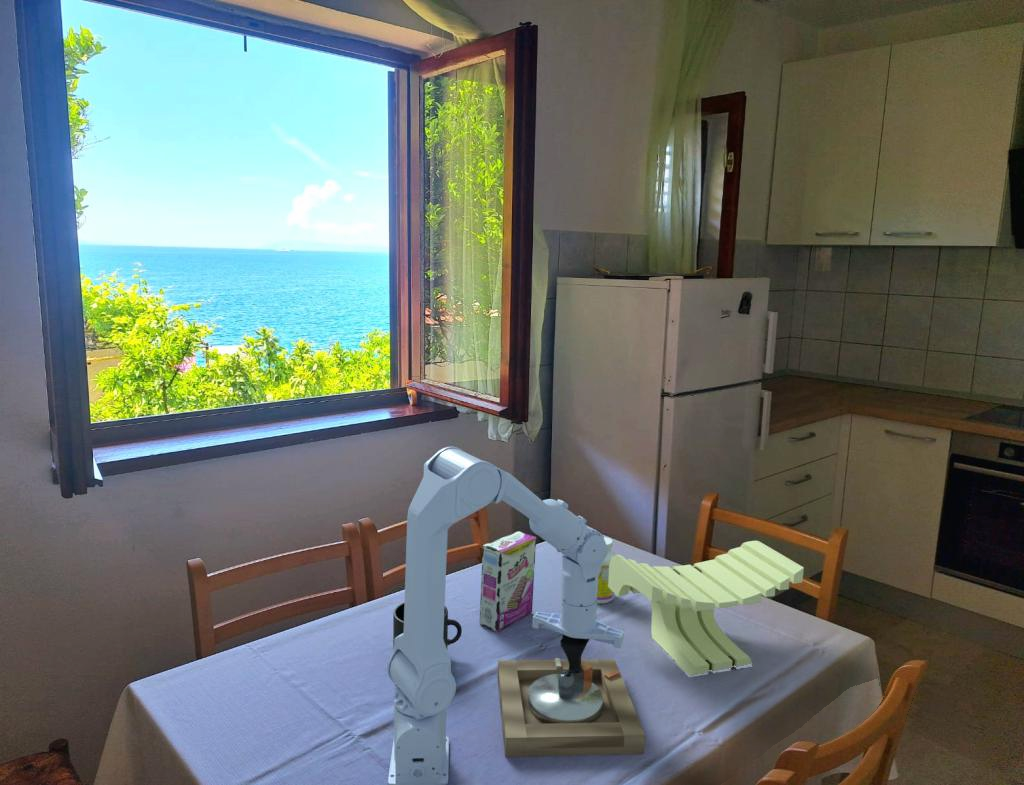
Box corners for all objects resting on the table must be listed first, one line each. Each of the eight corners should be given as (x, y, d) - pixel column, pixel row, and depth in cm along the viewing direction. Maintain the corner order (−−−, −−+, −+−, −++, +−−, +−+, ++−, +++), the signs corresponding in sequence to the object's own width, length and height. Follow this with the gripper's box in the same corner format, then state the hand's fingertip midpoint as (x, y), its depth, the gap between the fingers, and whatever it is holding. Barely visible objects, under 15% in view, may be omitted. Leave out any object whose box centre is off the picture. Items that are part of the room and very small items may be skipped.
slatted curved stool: (740, 618, 143) (748, 534, 140) (793, 660, 128) (803, 567, 125) (605, 637, 134) (610, 548, 131) (645, 685, 119) (652, 585, 116)
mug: (465, 670, 122) (466, 621, 120) (395, 676, 119) (395, 627, 118) (457, 641, 131) (458, 596, 129) (391, 647, 128) (391, 601, 127)
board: (643, 753, 102) (645, 731, 102) (505, 757, 101) (505, 734, 100) (613, 675, 122) (614, 656, 121) (497, 676, 120) (498, 657, 120)
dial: (561, 737, 103) (562, 706, 102) (513, 698, 112) (514, 669, 111) (617, 709, 110) (619, 680, 109) (568, 674, 119) (569, 647, 118)
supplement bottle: (576, 593, 152) (579, 536, 150) (603, 588, 155) (606, 532, 153) (593, 607, 146) (596, 548, 144) (620, 601, 149) (623, 543, 147)
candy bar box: (498, 634, 134) (500, 552, 131) (478, 625, 137) (480, 544, 135) (534, 613, 143) (537, 535, 140) (515, 605, 146) (517, 529, 143)
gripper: (630, 596, 112) (625, 674, 115) (544, 578, 118) (541, 653, 120) (618, 616, 106) (614, 698, 108) (528, 596, 111) (526, 675, 114)
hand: (574, 676), depth 114 cm, fingers closed, pressing on dial
